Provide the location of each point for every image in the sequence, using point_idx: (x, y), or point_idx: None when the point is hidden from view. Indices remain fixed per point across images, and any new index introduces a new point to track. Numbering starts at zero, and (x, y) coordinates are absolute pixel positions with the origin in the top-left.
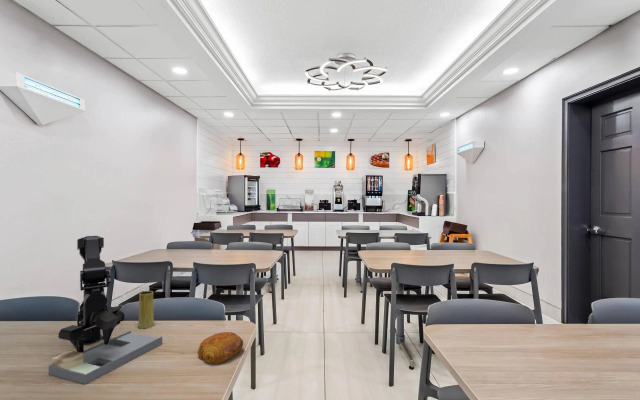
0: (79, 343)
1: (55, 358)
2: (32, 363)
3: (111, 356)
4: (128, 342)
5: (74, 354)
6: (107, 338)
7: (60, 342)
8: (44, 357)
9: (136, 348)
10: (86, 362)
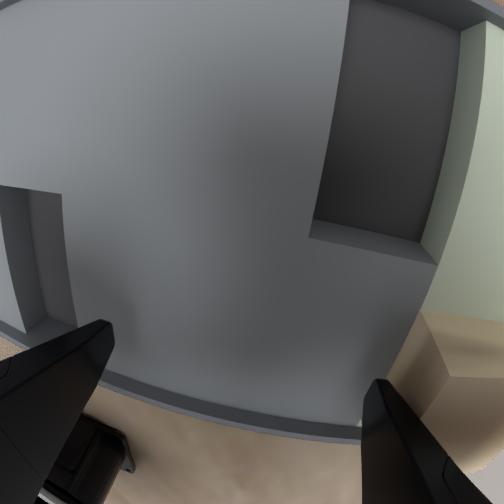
0: (479, 499)
1: (494, 455)
2: (331, 496)
3: (256, 101)
4: (3, 210)
5: (467, 414)
6: (68, 359)
7: (163, 496)
8: (278, 495)
9: (53, 24)
10: (423, 277)
